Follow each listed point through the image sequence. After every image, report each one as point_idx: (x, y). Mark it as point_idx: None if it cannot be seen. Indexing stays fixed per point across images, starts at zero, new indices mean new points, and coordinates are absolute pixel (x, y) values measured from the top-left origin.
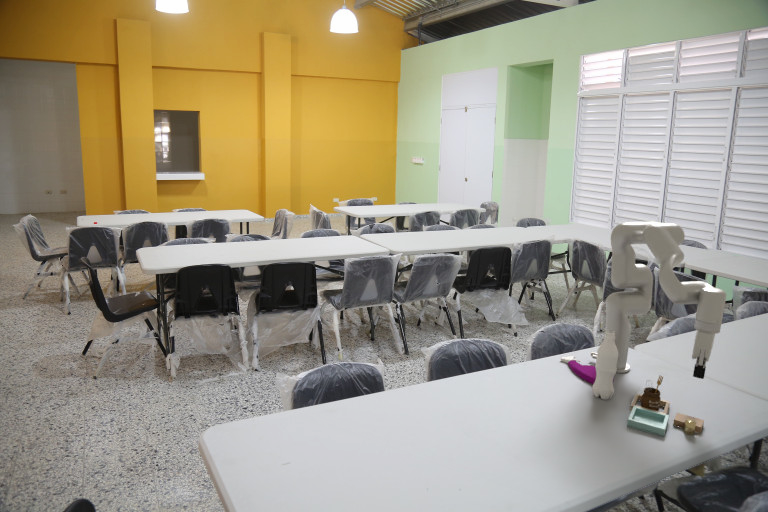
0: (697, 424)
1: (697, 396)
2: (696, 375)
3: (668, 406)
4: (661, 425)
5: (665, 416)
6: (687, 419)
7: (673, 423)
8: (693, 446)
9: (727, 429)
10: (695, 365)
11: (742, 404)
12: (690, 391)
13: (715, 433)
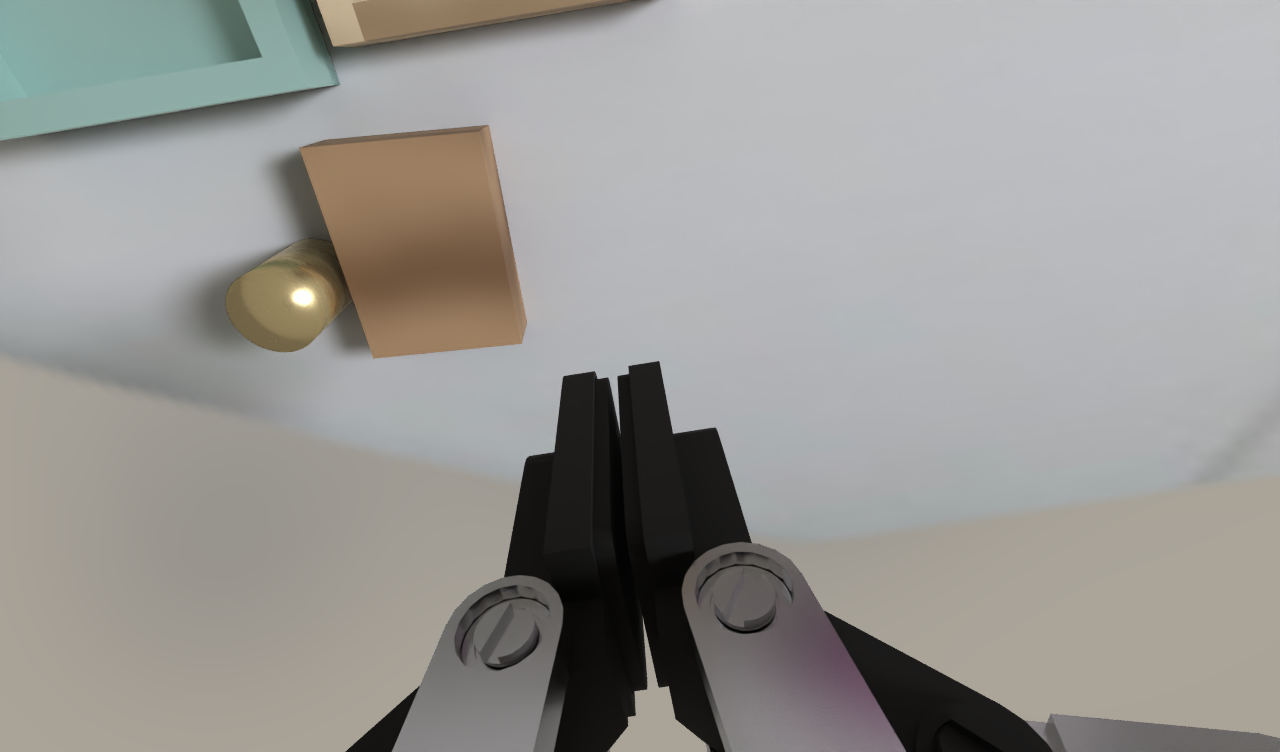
0: (397, 326)
1: (1069, 158)
2: (530, 457)
3: (546, 9)
4: (166, 60)
5: (244, 63)
6: (279, 283)
7: (318, 143)
8: (150, 349)
9: None
10: (573, 561)
11: (1055, 430)
12: (1165, 75)
13: (481, 404)
